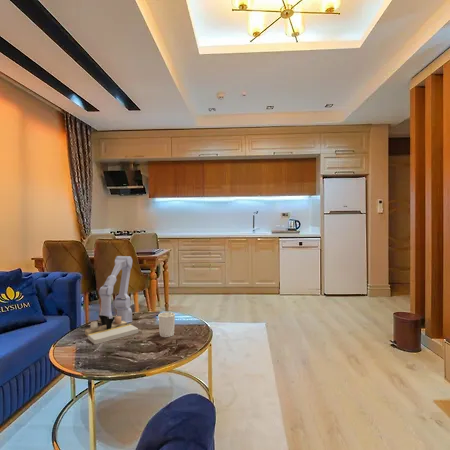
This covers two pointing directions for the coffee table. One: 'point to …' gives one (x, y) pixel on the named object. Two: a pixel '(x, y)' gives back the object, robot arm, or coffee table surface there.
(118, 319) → the cylinder
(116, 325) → the beige long bar
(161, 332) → the candle holder
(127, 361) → the coffee table surface
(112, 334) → the dock
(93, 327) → the taupe tapered cylinder
